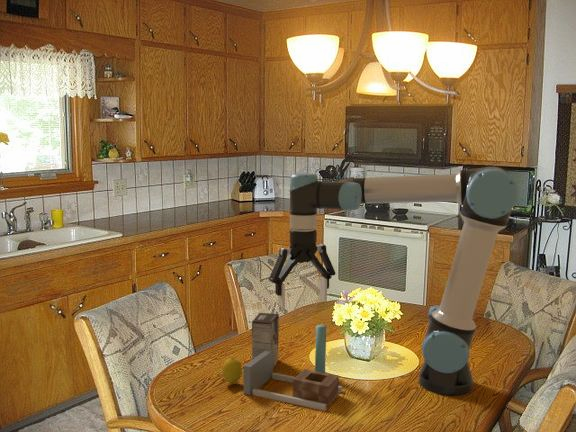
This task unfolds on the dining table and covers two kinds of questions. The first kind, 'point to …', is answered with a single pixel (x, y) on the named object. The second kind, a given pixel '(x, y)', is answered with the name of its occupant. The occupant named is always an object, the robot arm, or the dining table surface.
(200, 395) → the dining table surface
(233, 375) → the lemon
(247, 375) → the slide base
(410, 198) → the robot arm
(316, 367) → the dowel
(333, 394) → the socket block
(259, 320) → the coffee box
